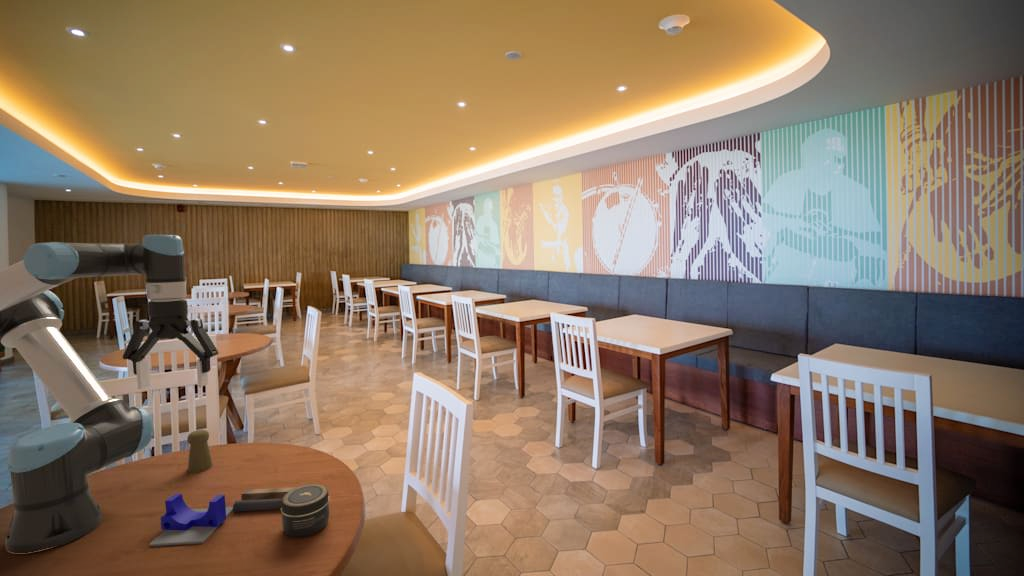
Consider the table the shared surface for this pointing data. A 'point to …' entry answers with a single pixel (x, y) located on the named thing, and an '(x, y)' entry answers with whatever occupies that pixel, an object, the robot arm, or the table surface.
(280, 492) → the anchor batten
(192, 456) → the cork
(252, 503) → the rod
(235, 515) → the table surface
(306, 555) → the table surface
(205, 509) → the mat
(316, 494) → the jar
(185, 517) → the cable clip
